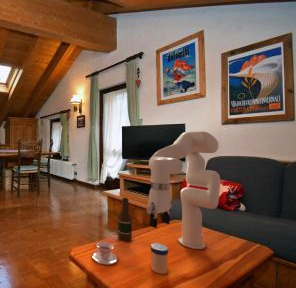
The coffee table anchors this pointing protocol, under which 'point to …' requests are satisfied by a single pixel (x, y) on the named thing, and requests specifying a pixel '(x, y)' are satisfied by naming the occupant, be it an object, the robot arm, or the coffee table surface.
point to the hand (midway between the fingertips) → (159, 224)
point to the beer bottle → (125, 222)
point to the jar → (159, 263)
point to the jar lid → (159, 249)
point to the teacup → (104, 254)
